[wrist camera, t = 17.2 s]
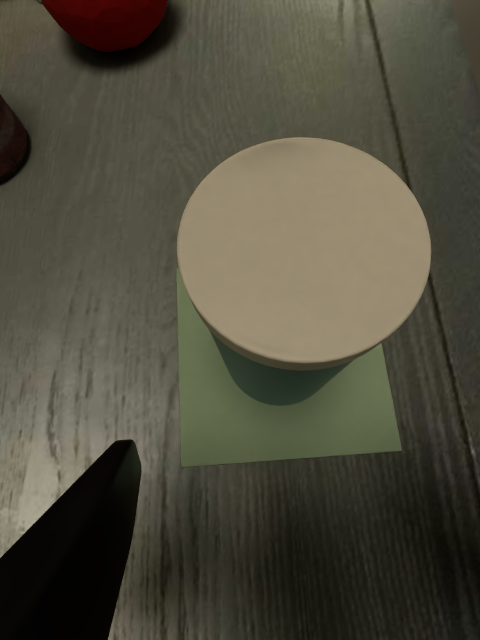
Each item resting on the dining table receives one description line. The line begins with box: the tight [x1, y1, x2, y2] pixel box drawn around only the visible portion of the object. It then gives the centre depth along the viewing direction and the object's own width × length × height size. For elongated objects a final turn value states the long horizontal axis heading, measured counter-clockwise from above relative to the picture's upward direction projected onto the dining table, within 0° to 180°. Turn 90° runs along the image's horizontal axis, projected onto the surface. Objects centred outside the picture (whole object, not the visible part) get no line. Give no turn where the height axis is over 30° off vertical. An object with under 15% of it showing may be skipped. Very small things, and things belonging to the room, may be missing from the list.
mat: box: [176, 268, 402, 467], centre depth 20 cm, size 11×11×1 cm
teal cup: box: [177, 137, 431, 406], centre depth 15 cm, size 6×6×12 cm
